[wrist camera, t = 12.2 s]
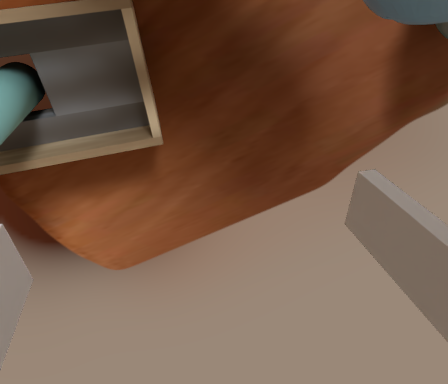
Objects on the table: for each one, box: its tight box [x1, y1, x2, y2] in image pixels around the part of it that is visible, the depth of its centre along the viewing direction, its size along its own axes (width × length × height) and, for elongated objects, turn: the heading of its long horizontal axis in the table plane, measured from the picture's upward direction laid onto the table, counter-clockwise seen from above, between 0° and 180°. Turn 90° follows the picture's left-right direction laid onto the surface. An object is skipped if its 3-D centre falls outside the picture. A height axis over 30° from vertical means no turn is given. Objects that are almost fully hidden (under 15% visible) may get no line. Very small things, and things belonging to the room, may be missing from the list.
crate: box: [0, 0, 163, 175], centre depth 27 cm, size 12×24×6 cm, turn 96°
